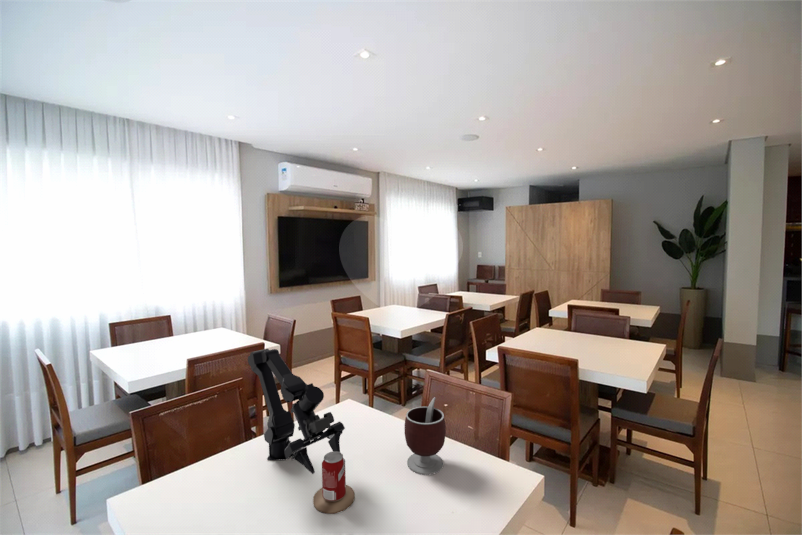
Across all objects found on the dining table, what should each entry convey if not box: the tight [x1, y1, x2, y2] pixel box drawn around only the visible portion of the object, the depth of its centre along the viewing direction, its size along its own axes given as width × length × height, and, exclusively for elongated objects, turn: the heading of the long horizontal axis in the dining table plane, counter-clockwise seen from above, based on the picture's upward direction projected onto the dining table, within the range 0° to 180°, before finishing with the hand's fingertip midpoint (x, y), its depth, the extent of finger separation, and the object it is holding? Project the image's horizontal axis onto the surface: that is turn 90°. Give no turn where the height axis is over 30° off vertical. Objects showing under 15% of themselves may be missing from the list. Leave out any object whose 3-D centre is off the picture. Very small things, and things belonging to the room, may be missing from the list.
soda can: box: [321, 450, 347, 502], centre depth 108 cm, size 7×7×12 cm
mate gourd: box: [404, 396, 447, 476], centre depth 126 cm, size 16×14×20 cm
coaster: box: [312, 484, 356, 515], centre depth 108 cm, size 12×12×1 cm
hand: (327, 466), depth 110 cm, fingers open, 9 cm apart
